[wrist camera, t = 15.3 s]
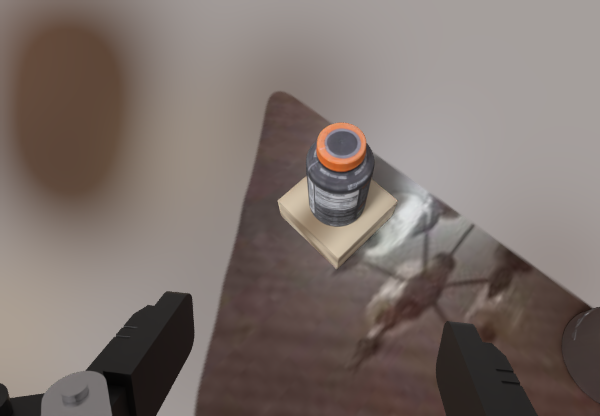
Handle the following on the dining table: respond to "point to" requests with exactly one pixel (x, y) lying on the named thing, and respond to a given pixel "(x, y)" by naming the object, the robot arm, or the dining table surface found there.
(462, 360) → the robot arm
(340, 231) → the maple block
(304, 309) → the dining table surface
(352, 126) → the pill bottle
